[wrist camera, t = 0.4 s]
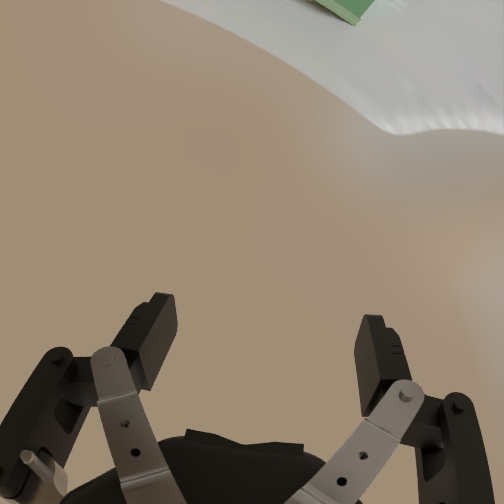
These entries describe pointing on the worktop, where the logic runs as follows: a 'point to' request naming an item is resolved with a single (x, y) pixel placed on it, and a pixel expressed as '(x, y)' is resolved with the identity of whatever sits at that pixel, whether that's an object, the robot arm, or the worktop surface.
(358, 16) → the putting mat
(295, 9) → the worktop surface
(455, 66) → the worktop surface
